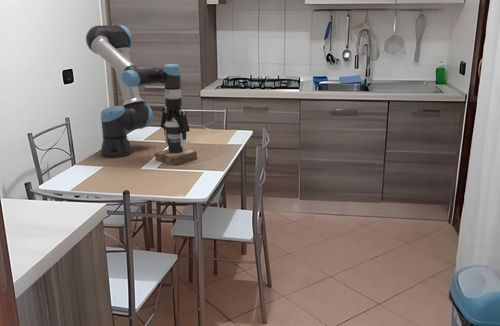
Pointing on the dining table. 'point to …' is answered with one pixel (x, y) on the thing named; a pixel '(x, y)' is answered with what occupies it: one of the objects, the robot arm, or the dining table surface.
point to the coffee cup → (173, 136)
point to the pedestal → (176, 156)
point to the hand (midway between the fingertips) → (175, 144)
